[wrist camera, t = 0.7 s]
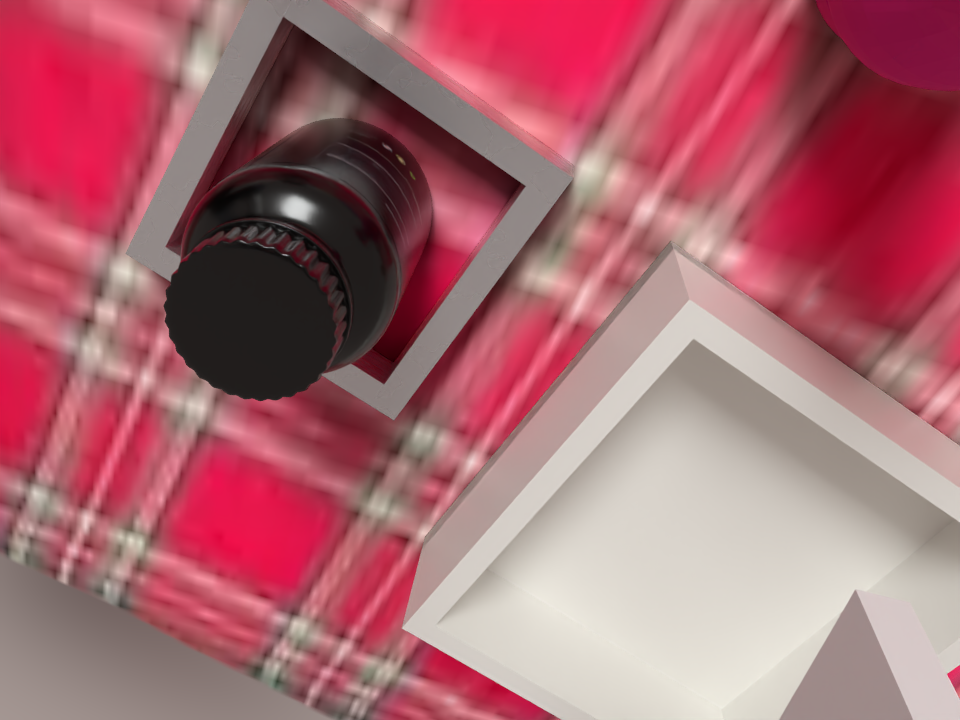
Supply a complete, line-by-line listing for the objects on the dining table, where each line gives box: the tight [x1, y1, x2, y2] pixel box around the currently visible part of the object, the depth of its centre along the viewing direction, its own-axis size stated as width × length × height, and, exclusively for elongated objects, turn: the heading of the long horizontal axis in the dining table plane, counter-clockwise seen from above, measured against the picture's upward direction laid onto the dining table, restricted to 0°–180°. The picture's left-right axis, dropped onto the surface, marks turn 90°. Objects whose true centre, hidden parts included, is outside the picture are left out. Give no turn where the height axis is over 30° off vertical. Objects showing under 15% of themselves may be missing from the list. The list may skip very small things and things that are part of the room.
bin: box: [402, 241, 960, 720], centre depth 35 cm, size 18×18×6 cm
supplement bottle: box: [164, 118, 432, 401], centre depth 28 cm, size 7×7×12 cm
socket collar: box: [126, 0, 573, 420], centre depth 32 cm, size 12×12×2 cm
